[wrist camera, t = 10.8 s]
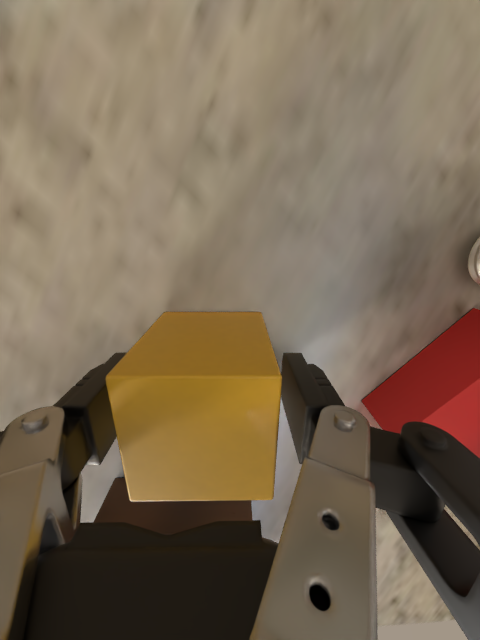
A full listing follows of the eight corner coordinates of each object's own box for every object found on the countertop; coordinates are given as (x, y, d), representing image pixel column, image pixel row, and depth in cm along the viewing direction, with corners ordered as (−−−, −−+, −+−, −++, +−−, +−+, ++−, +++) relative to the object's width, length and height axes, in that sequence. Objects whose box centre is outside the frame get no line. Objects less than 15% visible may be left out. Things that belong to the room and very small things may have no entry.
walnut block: (133, 561, 17) (113, 625, 14) (115, 477, 15) (86, 535, 12) (247, 559, 17) (249, 622, 15) (249, 475, 15) (253, 533, 12)
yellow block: (172, 394, 13) (128, 503, 8) (163, 311, 11) (103, 376, 6) (258, 393, 13) (273, 501, 8) (261, 311, 11) (282, 376, 6)
